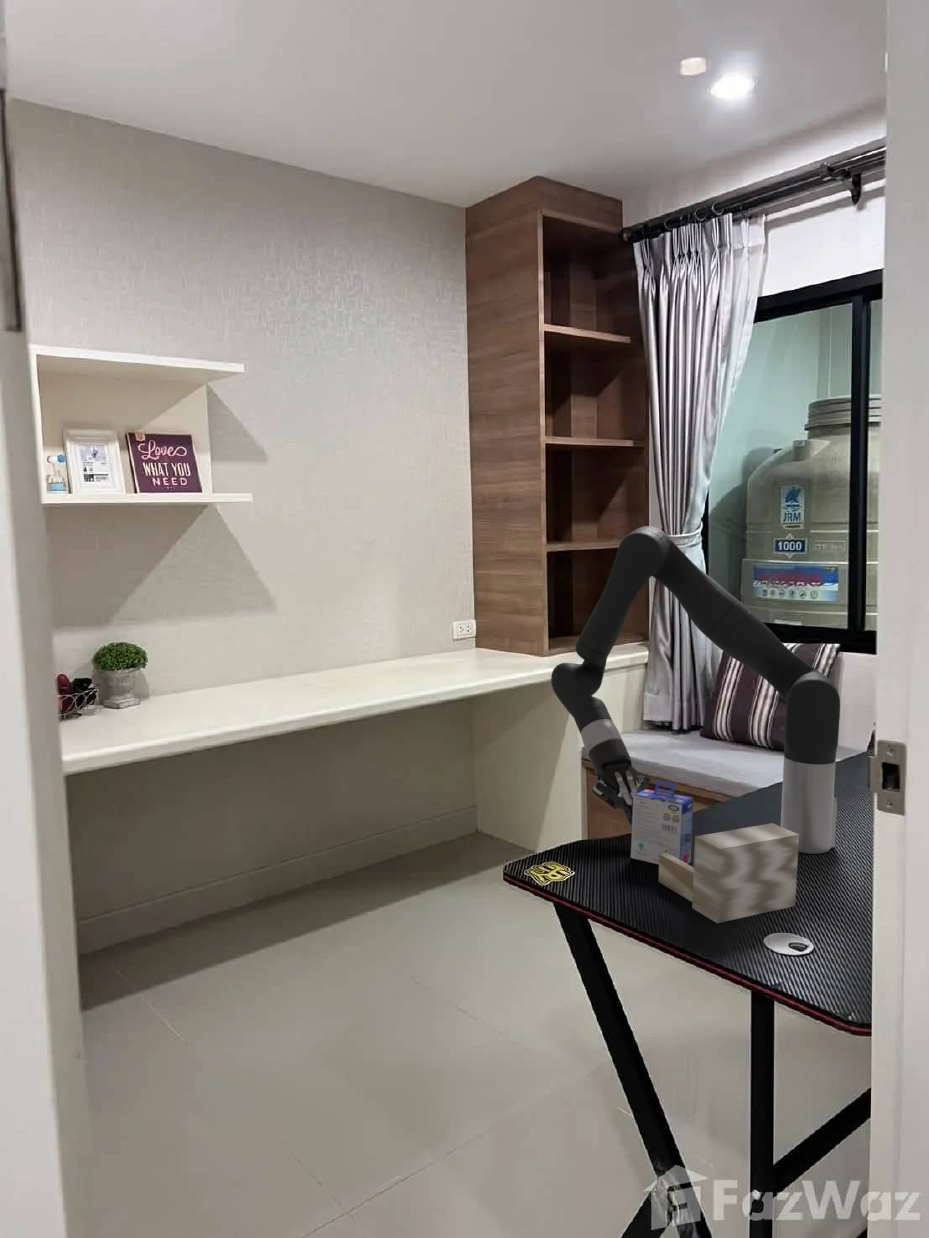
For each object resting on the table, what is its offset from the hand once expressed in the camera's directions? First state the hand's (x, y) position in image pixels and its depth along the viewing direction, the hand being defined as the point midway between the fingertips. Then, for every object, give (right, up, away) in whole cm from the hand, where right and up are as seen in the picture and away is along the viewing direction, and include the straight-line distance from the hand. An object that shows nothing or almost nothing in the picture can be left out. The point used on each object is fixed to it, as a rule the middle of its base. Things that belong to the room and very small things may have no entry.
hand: (639, 825), depth 175 cm
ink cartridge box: (+3, -5, -6) cm, 8 cm away
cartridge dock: (+10, -7, -21) cm, 24 cm away
